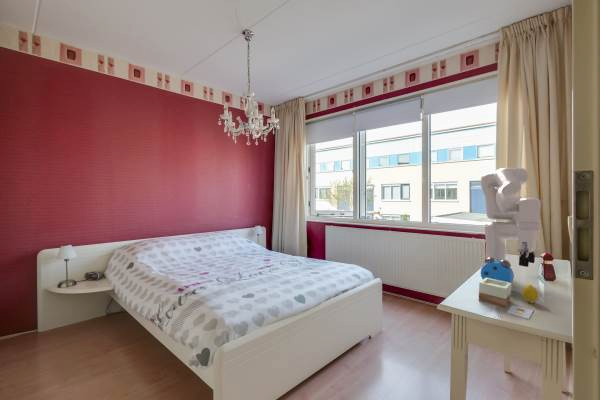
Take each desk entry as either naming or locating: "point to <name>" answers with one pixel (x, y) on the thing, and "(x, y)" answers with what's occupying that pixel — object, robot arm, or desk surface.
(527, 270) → the desk surface
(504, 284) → the top brick
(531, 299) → the lemon
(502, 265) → the alarm clock
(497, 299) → the base brick
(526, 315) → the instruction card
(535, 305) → the desk surface
